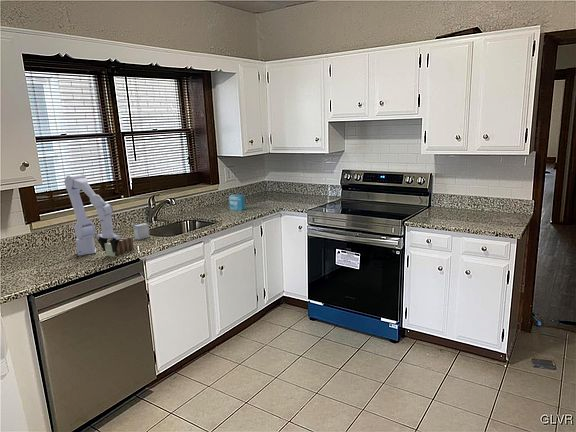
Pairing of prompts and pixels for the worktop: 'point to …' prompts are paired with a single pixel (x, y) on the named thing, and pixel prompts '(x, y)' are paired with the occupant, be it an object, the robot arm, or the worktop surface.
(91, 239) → the robot arm
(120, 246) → the tile
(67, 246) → the worktop surface
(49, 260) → the worktop surface
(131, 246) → the head tile
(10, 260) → the worktop surface
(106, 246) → the tile
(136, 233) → the medicine box
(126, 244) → the tile
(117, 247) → the tile
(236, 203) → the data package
